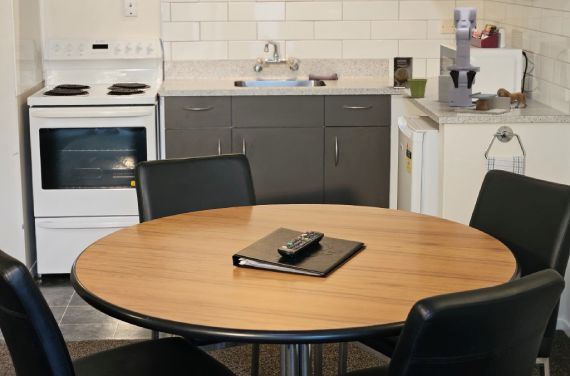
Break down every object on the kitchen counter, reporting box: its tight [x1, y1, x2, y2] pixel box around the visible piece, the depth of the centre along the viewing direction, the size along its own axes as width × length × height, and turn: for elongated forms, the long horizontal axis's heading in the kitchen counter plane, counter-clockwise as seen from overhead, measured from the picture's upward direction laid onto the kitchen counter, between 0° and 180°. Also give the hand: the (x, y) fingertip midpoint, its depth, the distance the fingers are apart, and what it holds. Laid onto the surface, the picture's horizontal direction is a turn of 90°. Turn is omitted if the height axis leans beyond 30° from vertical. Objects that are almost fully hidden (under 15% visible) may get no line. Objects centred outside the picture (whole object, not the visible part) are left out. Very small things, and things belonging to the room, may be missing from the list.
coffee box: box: [393, 56, 414, 88], centre depth 502 cm, size 9×6×16 cm
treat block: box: [475, 99, 489, 111], centre depth 405 cm, size 4×4×5 cm
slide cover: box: [469, 91, 498, 100], centre depth 404 cm, size 8×11×1 cm
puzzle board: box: [454, 96, 512, 115], centre depth 405 cm, size 20×12×6 cm, turn 56°
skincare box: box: [437, 74, 454, 103], centre depth 442 cm, size 6×4×12 cm
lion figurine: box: [496, 87, 528, 109], centre depth 413 cm, size 15×5×9 cm, turn 108°
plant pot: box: [408, 78, 428, 99], centre depth 460 cm, size 9×9×9 cm
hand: (462, 88), depth 408 cm, fingers open, 5 cm apart
